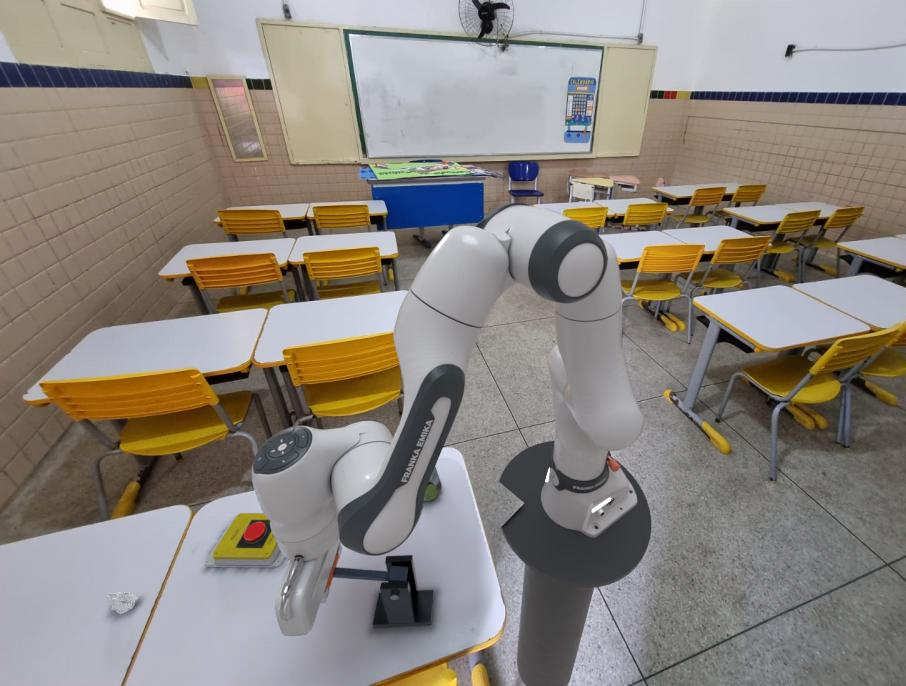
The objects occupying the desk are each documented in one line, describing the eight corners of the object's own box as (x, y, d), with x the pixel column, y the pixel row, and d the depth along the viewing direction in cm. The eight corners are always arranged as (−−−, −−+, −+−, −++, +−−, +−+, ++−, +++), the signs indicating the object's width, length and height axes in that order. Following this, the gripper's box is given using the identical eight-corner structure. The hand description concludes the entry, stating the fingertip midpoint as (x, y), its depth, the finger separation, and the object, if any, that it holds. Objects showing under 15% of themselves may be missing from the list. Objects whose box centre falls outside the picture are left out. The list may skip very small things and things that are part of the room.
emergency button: (275, 554, 72) (195, 554, 71) (281, 567, 74) (203, 567, 74) (297, 508, 80) (226, 508, 80) (302, 521, 82) (232, 520, 82)
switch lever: (316, 593, 59) (317, 584, 58) (328, 559, 63) (328, 551, 62) (402, 598, 61) (404, 591, 60) (407, 565, 66) (409, 558, 65)
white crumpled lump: (143, 601, 68) (133, 590, 67) (135, 613, 67) (125, 602, 65) (114, 602, 68) (104, 591, 66) (105, 614, 67) (94, 604, 65)
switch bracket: (372, 632, 65) (360, 593, 59) (380, 592, 70) (370, 553, 64) (431, 628, 66) (425, 590, 59) (434, 589, 71) (429, 550, 65)
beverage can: (447, 491, 89) (444, 455, 83) (421, 512, 84) (416, 476, 78) (430, 474, 93) (426, 440, 87) (405, 494, 88) (399, 459, 82)
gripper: (304, 606, 46) (327, 655, 52) (353, 464, 64) (365, 515, 70) (250, 609, 45) (280, 658, 52) (314, 465, 63) (330, 516, 70)
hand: (329, 575), depth 61 cm, fingers closed on switch lever, 5 cm apart
